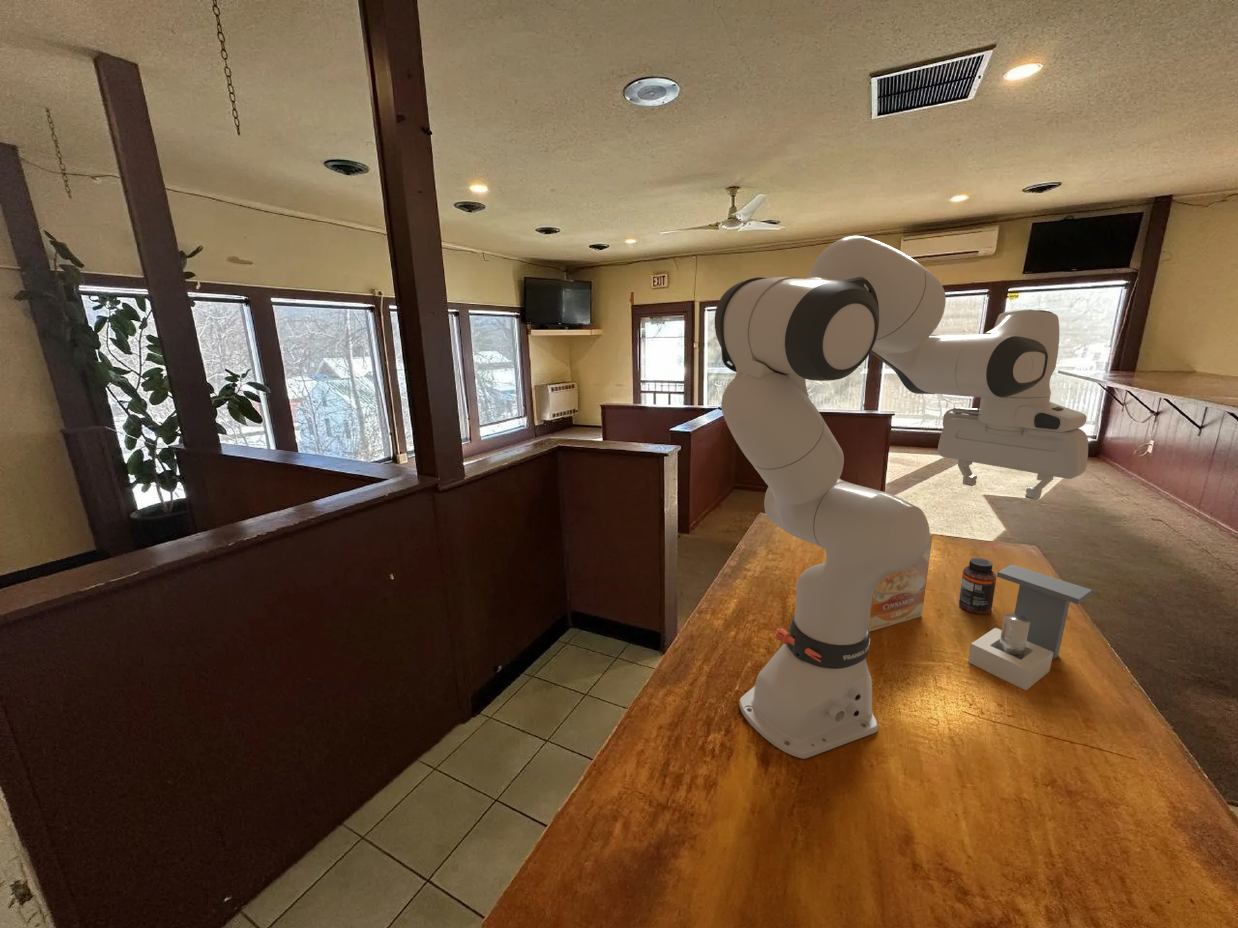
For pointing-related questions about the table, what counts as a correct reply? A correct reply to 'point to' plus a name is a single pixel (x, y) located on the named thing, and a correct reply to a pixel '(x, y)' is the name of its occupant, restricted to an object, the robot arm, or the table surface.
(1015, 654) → the peg
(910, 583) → the coffeecake box
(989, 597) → the supplement bottle
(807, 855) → the table surface
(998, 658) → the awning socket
